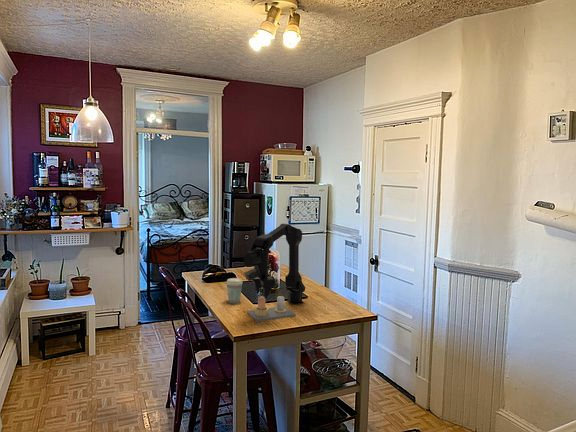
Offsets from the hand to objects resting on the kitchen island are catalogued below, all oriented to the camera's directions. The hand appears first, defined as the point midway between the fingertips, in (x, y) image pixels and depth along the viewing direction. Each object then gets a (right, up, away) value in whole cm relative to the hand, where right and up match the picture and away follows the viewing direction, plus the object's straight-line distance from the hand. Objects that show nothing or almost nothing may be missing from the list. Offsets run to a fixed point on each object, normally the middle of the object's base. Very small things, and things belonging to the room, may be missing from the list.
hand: (261, 295), depth 206 cm
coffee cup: (-16, -8, +21) cm, 27 cm away
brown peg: (0, -9, +1) cm, 9 cm away
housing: (+4, -10, +3) cm, 11 cm away
